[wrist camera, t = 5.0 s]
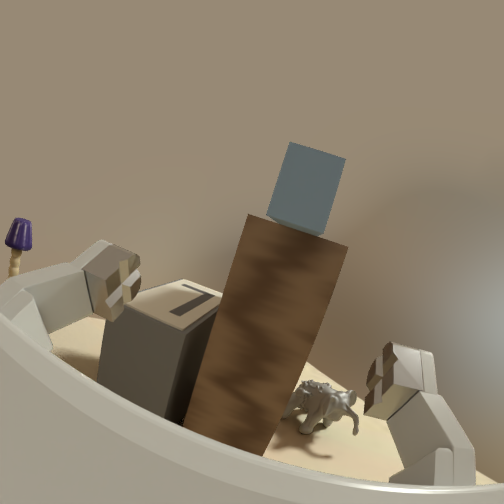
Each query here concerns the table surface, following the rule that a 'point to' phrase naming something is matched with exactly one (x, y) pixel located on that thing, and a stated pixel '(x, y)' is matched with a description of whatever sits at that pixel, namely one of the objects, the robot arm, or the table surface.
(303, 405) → the gray elephant figurine
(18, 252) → the toy lamp
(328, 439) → the table surface
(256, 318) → the walnut stand
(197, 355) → the stand
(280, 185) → the blue bar
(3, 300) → the robot arm
